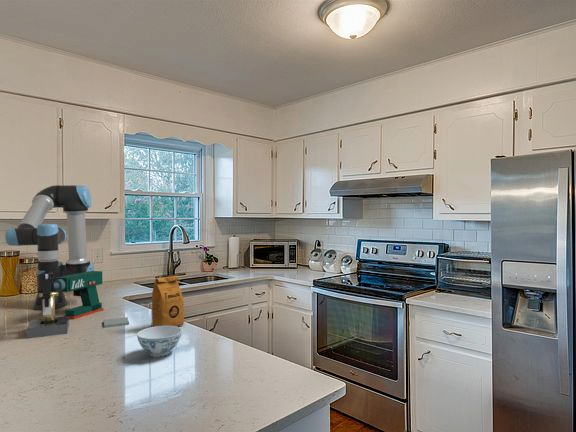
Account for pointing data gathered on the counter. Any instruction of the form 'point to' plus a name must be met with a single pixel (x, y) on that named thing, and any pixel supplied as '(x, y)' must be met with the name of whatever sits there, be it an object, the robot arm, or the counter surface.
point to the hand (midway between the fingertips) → (49, 310)
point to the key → (51, 318)
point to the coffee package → (167, 303)
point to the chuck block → (48, 327)
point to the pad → (116, 322)
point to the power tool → (81, 292)
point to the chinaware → (159, 339)
